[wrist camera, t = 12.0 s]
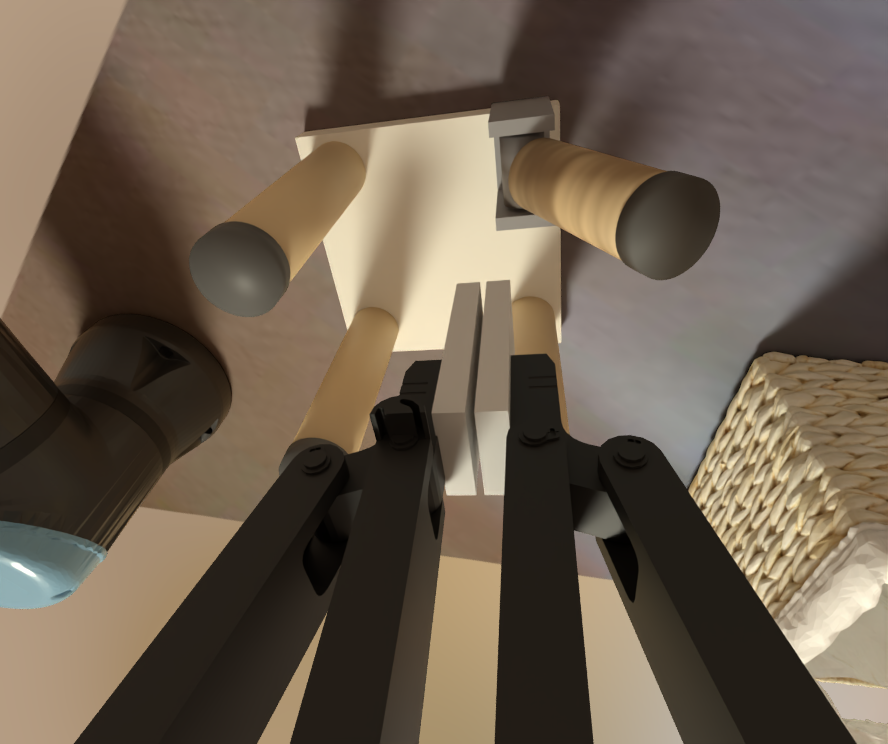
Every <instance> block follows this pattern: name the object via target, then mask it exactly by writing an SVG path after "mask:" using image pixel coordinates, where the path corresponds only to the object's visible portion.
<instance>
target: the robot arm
mask: <svg viewBox="0 0 888 744" xmlns="http://www.w3.org/2000/svg"><path fill="white" fill-rule="evenodd" d="M402 384H403V385H402V387H401V390H400V395H399V396H396V397H391V398H388V399H386V400H383V401H381V402H380V403H379V404H377V405H376V406H375V407H374V408H373V409H372V411H371V412H370V414H369V415H370V419H371V422H372V426H373V430H374V433H375V437H376V440H377V441H376V444H375V445H374V446H372V447H370V448H367V449H365V450H362V451H358V452H354V453H351V454H347V455H344V454H343V452H342V451H341V450H340V448H339V447H337V446H334V445H331V444H319V445H315V446H312V447H309V448H307V449H305V450H303V451H301V452H300V453H299V454H298V455H297V456H296V457H295V458H294V459H293V460H292V461H291V462H290V463H289V465H288V466H287V467H286V469H285V470H284V471H283V473H282V474H281V475H280V476H279V478H278V479H277V480H276V482H275V483H274V484H273V486H272V487H271V488H270V489H269V491H268V492H267V493H266V495H265V496H264V497H263V499H262V500H261V501H260V502H259V504H258V505H257V506H256V508H255V509H254V510H253V512H252V513H251V514H250V515H249V517H248V518H247V519H246V521H245V522H244V523H243V525H242V526H241V527H240V528H239V530H238V531H237V532H236V534H235V535H234V536H233V538H232V539H231V540H230V542H229V543H228V544H227V545H226V547H225V548H224V549H223V551H222V552H221V553H220V554H219V556H218V557H217V558H216V560H215V561H214V562H213V564H212V565H211V566H210V568H209V569H208V570H207V571H206V573H205V574H204V575H203V576H202V578H201V579H200V580H199V582H198V583H197V584H196V586H195V587H194V588H193V589H192V591H191V592H190V593H189V595H188V596H187V597H186V599H185V600H184V601H183V603H182V604H181V605H180V606H179V608H178V609H177V610H176V612H175V613H174V614H173V615H172V617H171V618H170V619H169V621H168V622H167V623H166V625H165V626H164V627H163V628H162V630H161V631H160V632H159V634H158V635H157V636H156V638H155V639H154V640H153V642H152V643H151V644H150V645H149V647H148V648H147V649H146V651H145V652H144V653H143V654H142V656H141V657H140V659H139V660H138V661H137V662H136V664H135V665H134V666H133V668H132V669H131V670H130V671H129V673H128V674H127V675H126V677H125V678H124V679H123V680H122V682H121V683H120V684H119V686H118V687H117V688H116V690H115V691H114V692H113V694H112V695H111V696H110V697H109V699H108V700H107V701H106V703H105V704H104V705H103V706H102V708H101V709H100V710H99V712H98V713H97V714H96V716H95V717H94V718H93V719H92V721H91V722H90V723H89V725H88V726H87V727H86V729H85V730H84V731H83V733H82V734H81V735H80V737H79V738H78V739H77V740H76V742H75V743H74V744H257V742H258V740H259V739H260V737H261V735H262V733H263V731H264V729H265V728H266V726H267V724H268V722H269V720H270V718H271V716H272V714H273V713H274V711H275V709H276V707H277V705H278V703H279V701H280V699H281V697H282V696H283V694H284V692H285V690H286V688H287V686H288V684H289V683H290V681H291V679H292V677H293V675H294V673H295V671H296V669H297V668H298V666H299V664H300V662H301V660H302V658H303V656H304V655H305V653H306V651H307V649H308V647H309V645H310V643H311V641H312V640H313V638H314V636H315V634H316V632H317V630H318V628H319V626H320V625H321V623H322V621H323V619H324V617H325V615H326V613H327V616H326V619H325V623H324V626H323V630H322V633H321V637H320V640H319V644H318V647H317V651H316V655H315V658H314V661H313V665H312V669H311V672H310V675H309V679H308V682H307V686H306V689H305V693H304V697H303V700H302V703H301V707H300V710H299V714H298V717H297V721H296V724H295V728H294V731H293V735H292V738H291V742H290V744H419V734H420V726H421V717H422V709H423V700H424V691H425V683H426V674H427V665H428V656H429V647H430V639H431V630H432V622H433V613H434V604H435V596H436V587H437V578H438V568H439V561H440V552H441V543H442V535H443V526H444V517H445V508H444V502H443V491H444V484H445V488H446V493H447V495H476V494H477V480H478V467H479V454H480V461H481V469H482V477H483V485H484V493H485V495H504V513H503V539H502V565H501V591H500V592H501V593H500V619H499V645H498V670H497V696H496V722H495V744H593V733H592V723H591V712H590V701H589V690H588V679H587V668H586V658H585V647H584V636H583V627H582V626H583V625H582V614H581V604H580V593H579V583H578V571H577V561H576V550H575V539H574V530H575V531H579V532H582V533H586V534H589V535H593V536H595V537H596V541H597V544H598V546H599V548H600V551H601V553H602V555H603V558H604V560H605V562H606V565H607V567H608V569H609V572H610V574H611V576H612V579H613V581H614V583H615V585H616V588H617V590H618V592H619V595H620V597H621V599H622V602H623V604H624V606H625V609H626V611H627V613H628V616H629V618H630V620H631V622H632V625H633V627H634V629H635V632H636V634H637V637H638V639H639V641H640V643H641V646H642V648H643V651H644V653H645V655H646V657H647V660H648V662H649V664H650V667H651V669H652V671H653V674H654V676H655V678H656V681H657V683H658V685H659V688H660V690H661V692H662V694H663V697H664V699H665V701H666V704H667V706H668V709H669V711H670V713H671V715H672V718H673V720H674V722H675V725H676V727H677V729H678V732H679V734H680V736H681V739H682V741H683V743H684V744H857V743H856V742H855V740H854V739H853V737H852V736H851V734H850V733H849V731H848V730H847V728H846V727H845V725H844V724H843V722H842V721H841V719H840V718H839V716H838V715H837V713H836V712H835V710H834V709H833V707H832V706H831V704H830V703H829V701H828V700H827V698H826V697H825V695H824V694H823V692H822V691H821V689H820V688H819V686H818V685H817V683H816V682H815V680H814V679H813V677H812V676H811V674H810V673H809V671H808V670H807V668H806V667H805V665H804V664H803V662H802V661H801V659H800V658H799V656H798V655H797V653H796V652H795V650H794V649H793V647H792V646H791V644H790V643H789V641H788V640H787V638H786V637H785V635H784V634H783V632H782V631H781V629H780V628H779V626H778V625H777V623H776V622H775V620H774V619H773V617H772V616H771V614H770V613H769V611H768V610H767V608H766V607H765V605H764V604H763V602H762V601H761V599H760V598H759V596H758V595H757V593H756V592H755V590H754V589H753V587H752V586H751V584H750V583H749V581H748V580H747V578H746V577H745V575H744V574H743V572H742V571H741V569H740V568H739V566H738V565H737V563H736V562H735V560H734V559H733V557H732V556H731V554H730V553H729V551H728V550H727V548H726V547H725V546H724V544H723V543H722V541H721V540H720V538H719V537H718V535H717V534H716V532H715V531H714V529H713V528H712V526H711V525H710V523H709V522H708V520H707V519H706V517H705V516H704V514H703V513H702V511H701V510H700V508H699V507H698V505H697V504H696V502H695V501H694V499H693V498H692V496H691V495H690V493H689V492H688V490H687V489H686V487H685V486H684V484H683V483H682V481H681V480H680V478H679V477H678V475H677V474H676V472H675V471H674V469H673V468H672V466H671V465H670V463H669V462H668V460H667V459H666V457H665V456H664V454H663V453H662V451H661V450H660V449H659V448H658V447H657V446H656V445H655V444H654V443H652V442H650V441H648V440H646V439H644V438H641V437H636V436H631V435H628V436H617V437H614V438H611V439H608V440H607V441H606V442H605V443H604V444H602V445H601V447H599V446H594V445H589V444H586V443H583V442H580V441H578V440H576V439H574V438H572V437H571V436H570V435H569V434H568V433H567V432H566V431H565V429H564V428H563V425H562V422H561V413H560V403H559V394H558V386H557V377H556V367H555V363H554V362H553V361H552V359H551V358H550V357H549V356H548V355H547V354H546V353H545V354H525V355H515V346H514V331H513V316H512V301H511V285H510V280H499V281H487V282H486V293H485V303H484V314H483V307H482V297H481V287H480V282H471V283H458V284H457V285H456V290H455V296H454V301H453V306H452V311H451V316H450V321H449V326H448V331H447V336H446V342H445V347H444V352H443V357H442V360H428V361H415V362H414V363H413V364H412V365H411V367H410V368H409V369H408V370H407V371H406V372H405V376H404V379H403V383H402ZM230 405H231V390H230V386H229V382H228V380H227V377H226V375H225V373H224V371H223V369H222V368H221V366H220V365H219V363H218V362H217V360H216V359H215V358H214V357H213V355H212V354H211V353H210V352H209V351H208V350H207V349H206V348H205V347H204V346H203V345H202V344H201V343H199V342H198V341H197V340H196V339H194V338H193V337H192V336H190V335H189V334H187V333H186V332H184V331H182V330H181V329H179V328H177V327H175V326H173V325H171V324H169V323H166V322H164V321H161V320H158V319H155V318H151V317H147V316H142V315H134V314H121V315H114V316H110V317H107V318H104V319H102V320H100V321H98V322H97V323H95V324H94V325H93V326H92V327H90V328H89V329H88V330H87V331H85V332H84V333H83V334H82V335H81V336H80V337H79V338H78V339H77V340H76V341H75V342H74V344H73V346H72V347H71V350H70V352H69V355H68V357H67V359H66V361H65V363H64V364H63V366H62V368H61V370H60V372H59V374H58V375H57V377H56V379H55V381H54V382H53V381H52V379H51V378H50V377H49V376H48V375H47V374H46V372H45V371H44V370H43V369H42V368H41V367H40V365H39V364H38V363H37V362H36V361H35V359H34V358H33V357H32V356H31V355H30V354H29V352H28V351H27V350H26V349H25V348H24V346H23V345H22V344H21V343H20V342H19V340H18V339H17V338H16V337H15V335H14V334H13V333H12V332H11V331H10V329H9V328H8V327H7V326H6V325H5V323H4V322H3V321H2V320H1V318H0V607H4V608H15V609H33V608H41V607H47V606H50V605H53V604H56V603H59V602H61V601H62V600H65V599H66V598H67V597H69V596H70V595H72V594H73V593H74V592H75V591H76V590H77V589H78V588H79V586H80V585H81V584H82V583H83V582H84V580H85V579H86V578H87V577H88V576H89V575H90V573H91V572H92V571H93V570H94V568H96V566H97V565H98V564H99V563H100V562H102V561H103V560H104V559H105V558H106V555H107V551H108V550H109V548H110V547H111V546H112V544H113V543H114V542H115V540H116V539H117V537H118V536H119V535H120V533H121V532H122V530H123V529H124V527H125V526H126V525H127V523H128V522H129V520H130V519H131V518H132V516H133V515H134V514H135V512H136V511H137V509H138V508H139V507H140V505H141V504H142V503H143V501H144V500H145V498H146V497H147V496H148V494H149V493H150V491H151V490H152V489H153V487H154V486H155V484H156V483H157V482H158V480H159V479H160V477H161V476H162V474H163V473H164V472H165V470H166V469H167V468H168V466H169V465H170V464H172V463H173V462H175V461H176V460H178V459H179V458H181V457H182V456H184V455H185V454H186V453H188V452H189V451H191V450H192V449H194V448H195V447H197V446H198V445H200V444H201V443H203V442H204V441H206V440H207V439H208V438H210V437H211V436H212V435H213V434H214V433H215V432H216V431H217V429H218V428H219V426H220V425H221V423H222V422H223V420H224V419H225V417H226V416H227V414H228V412H229V409H230ZM327 611H328V612H327Z"/></svg>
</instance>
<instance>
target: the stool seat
mask: <svg viewBox="0 0 888 744" xmlns="http://www.w3.org/2000/svg"><path fill="white" fill-rule="evenodd" d="M536 132H544V138H551V139H555V140H558V141H560V104H559V101H558V100H552V101H550V99H549V96H544V97H536V98H528V99H521V100H513V101H505V102H497V103H492V105H491V108H488V109H481V110H473V111H465V112H457V113H449V114H441V115H433V116H425V117H417V118H409V119H401V120H393V121H386V122H378V123H370V124H362V125H354V126H346V127H338V128H330V129H322V130H314V131H306V132H303V133H302V134H300V135H299V136H297V137H296V138H295V140H296V144H297V147H298V151H299V154H300V158H301V161H300V162H299V163H298V164H297V165H295V166H294V167H293V168H292V169H290V170H289V171H288V172H287V173H285V174H284V175H283V176H282V177H280V178H279V179H278V180H277V181H275V182H274V183H273V184H272V185H270V186H269V187H268V188H267V189H265V190H264V191H263V192H262V193H260V194H259V195H258V196H257V197H255V198H254V199H253V200H252V201H250V202H249V203H248V204H247V205H245V206H244V207H243V208H242V209H240V210H239V211H238V212H237V213H235V214H234V215H233V216H232V217H230V218H229V219H228V220H227V221H225V222H224V223H222V224H219V225H217V226H215V227H214V228H213V229H211V230H210V231H209V232H208V233H206V234H205V235H204V236H202V237H201V238H200V239H199V240H198V241H197V242H196V243H195V244H194V246H193V248H192V250H191V253H190V257H189V266H190V272H191V275H192V278H193V280H194V282H195V284H196V286H197V288H198V289H199V291H200V292H201V293H202V294H203V296H204V297H205V298H206V299H207V300H209V301H210V302H211V303H212V304H213V305H215V306H216V307H218V308H219V309H221V310H223V311H225V312H227V313H230V314H233V315H236V316H242V317H255V316H259V315H262V314H265V313H267V312H268V311H270V310H271V309H272V308H273V307H274V306H275V305H276V303H277V302H278V301H279V300H280V298H281V297H282V296H283V294H284V293H285V292H286V290H287V288H288V286H289V283H290V282H291V280H292V279H293V278H294V276H295V275H296V274H297V272H298V271H299V270H300V269H301V267H302V266H303V265H304V263H305V262H306V261H307V259H308V258H309V257H310V256H311V254H312V253H313V252H314V250H315V249H316V248H317V246H318V245H319V244H320V243H321V241H322V240H323V242H324V246H325V249H326V253H327V257H328V260H329V264H330V268H331V271H332V275H333V278H334V282H335V286H336V289H337V293H338V297H339V300H340V304H341V308H342V311H343V315H344V319H345V322H346V326H347V330H348V331H347V333H346V335H345V337H344V339H343V341H342V343H341V345H340V347H339V349H338V351H337V353H336V355H335V357H334V359H333V361H332V363H331V365H330V367H329V369H328V372H327V374H326V376H325V378H324V380H323V382H322V384H321V386H320V388H319V390H318V392H317V394H316V396H315V398H314V400H313V402H312V404H311V406H310V408H309V410H308V412H307V414H306V416H305V418H304V421H303V423H302V425H301V427H300V429H299V431H298V433H297V435H296V437H295V439H294V441H293V443H292V444H291V445H290V446H289V448H288V449H287V451H286V453H285V455H284V457H283V459H282V461H281V464H280V466H279V475H281V474H282V473H283V471H284V470H285V469H286V467H287V466H288V465H289V463H290V462H291V461H292V460H293V459H294V458H295V457H296V456H297V455H298V454H299V453H300V452H301V451H303V450H305V449H307V448H309V447H312V446H315V445H319V444H331V445H334V446H337V447H339V448H340V450H341V451H342V452H343V454H344V455H347V454H351V453H354V452H358V451H359V449H360V446H361V443H362V440H363V437H364V434H365V431H366V428H367V425H368V422H369V419H370V415H369V414H370V412H371V411H372V409H373V407H374V404H375V401H376V398H377V395H378V392H379V390H380V387H381V384H382V381H383V378H384V375H385V372H386V369H387V366H388V363H389V360H390V357H391V354H392V352H395V351H414V350H433V349H444V347H445V342H446V336H447V331H448V326H449V321H450V316H451V311H452V306H453V301H454V296H455V290H456V285H457V284H458V283H471V282H480V287H481V297H482V307H483V314H484V303H485V293H486V282H487V281H499V280H510V285H511V301H512V316H513V331H514V346H515V355H525V354H545V353H546V354H547V355H548V356H549V357H550V358H551V359H552V361H553V362H554V363H555V367H556V377H557V386H558V394H559V403H560V413H561V422H562V425H563V428H564V429H565V431H566V432H567V433H568V434H569V426H568V418H567V410H566V402H565V394H564V386H563V378H562V370H561V362H560V354H559V346H558V343H561V228H559V227H558V226H556V225H554V224H552V223H550V222H548V221H546V220H544V219H542V218H541V217H539V216H537V215H535V214H533V213H531V212H529V211H527V210H525V209H513V208H508V207H506V206H505V205H504V200H503V185H502V170H501V155H500V140H499V137H502V136H510V135H519V134H527V133H536ZM569 435H570V434H569Z"/></svg>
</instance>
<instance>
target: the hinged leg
mask: <svg viewBox="0 0 888 744" xmlns="http://www.w3.org/2000/svg"><path fill="white" fill-rule="evenodd" d="M499 140H500V155H501V170H502V185H503V200H504V205H505V206H506V207H508V208H513V209H525V210H527V211H529V212H531V213H533V214H535V215H537V216H539V217H541V218H542V219H544V220H546V221H548V222H550V223H552V224H554V225H556V226H558V227H559V228H561V229H563V230H565V231H567V232H569V233H571V234H573V235H575V236H576V237H578V238H580V239H582V240H584V241H586V242H588V243H590V244H592V245H593V246H595V247H597V248H599V249H601V250H603V251H605V252H607V253H609V254H610V255H612V256H614V257H616V258H618V259H620V260H622V261H623V262H624V263H625V265H627V266H628V267H630V268H632V269H634V270H635V271H637V272H639V273H641V274H643V275H645V276H647V277H649V278H651V279H655V280H667V279H671V278H674V277H676V276H678V275H680V274H682V273H684V272H685V271H687V270H688V269H689V268H690V267H692V266H693V265H694V264H695V263H696V262H697V261H698V260H699V259H700V258H701V256H702V255H703V254H704V253H705V251H706V250H707V248H708V247H709V245H710V243H711V241H712V239H713V237H714V235H715V232H716V229H717V226H718V222H719V217H720V201H719V197H718V194H717V191H716V189H715V188H714V186H713V185H712V184H711V183H710V182H708V181H707V180H705V179H702V178H699V177H696V176H692V175H689V174H685V173H681V172H677V171H664V170H661V169H657V168H654V167H650V166H647V165H643V164H640V163H636V162H632V161H629V160H625V159H622V158H618V157H615V156H611V155H608V154H604V153H601V152H597V151H594V150H590V149H587V148H583V147H580V146H576V145H573V144H569V143H565V142H562V141H558V140H555V139H551V138H544V132H536V133H527V134H519V135H510V136H502V137H499Z"/></svg>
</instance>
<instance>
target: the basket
mask: <svg viewBox="0 0 888 744" xmlns="http://www.w3.org/2000/svg"><path fill="white" fill-rule="evenodd" d="M688 492H689V493H690V495H691V496H692V498H693V499H694V501H695V502H696V504H697V505H698V507H699V508H700V510H701V511H702V513H703V514H704V516H705V517H706V519H707V520H708V522H709V523H710V525H711V526H712V528H713V529H714V531H715V532H716V534H717V535H718V537H719V538H720V540H721V541H722V543H723V544H724V546H725V547H726V548H727V550H728V551H729V553H730V554H731V556H732V557H733V559H734V560H735V562H736V563H737V565H738V566H739V568H740V569H741V571H742V572H743V574H744V575H745V577H746V578H747V580H748V581H749V583H750V584H751V586H752V587H753V589H754V590H755V592H756V593H757V595H758V596H759V598H760V599H761V601H762V602H763V604H764V605H765V607H766V608H767V610H768V611H769V613H770V614H771V616H772V617H773V619H774V620H775V622H776V623H777V625H778V626H779V628H780V629H781V631H782V632H783V634H784V635H785V637H786V638H787V640H788V641H789V643H790V644H791V646H792V647H793V649H794V650H795V652H796V653H797V655H798V656H799V658H800V659H801V661H802V662H803V664H804V665H805V667H806V668H807V670H808V671H809V673H810V674H811V676H812V677H813V679H814V680H815V682H816V683H817V685H818V686H819V688H820V689H821V691H822V692H823V694H824V695H825V697H826V698H827V700H828V701H829V703H830V704H831V706H832V707H833V709H834V710H835V712H836V713H837V715H838V716H839V718H840V719H841V721H842V722H843V724H844V725H845V727H846V728H847V730H848V731H849V733H850V734H851V736H852V737H853V739H854V740H855V742H856V743H857V744H888V723H887V724H884V723H875V722H872V721H870V720H867V719H866V720H865V721H862V720H856V719H851V720H849V719H843V718H841V716H840V714H839V712H838V711H837V709H836V707H835V706H834V704H833V702H832V700H831V698H830V697H829V695H828V694H827V693H826V691H825V690H824V689H823V688H822V687H821V686H820V684H819V683H818V682H817V681H820V682H831V683H836V682H837V683H843V684H849V685H862V686H866V687H873V688H876V687H878V688H886V689H888V363H886V362H881V361H864V362H862V363H861V364H860V363H856V362H853V361H849V360H843V359H840V360H831V361H828V360H826V359H821V358H813V357H807V356H806V355H800V356H797V357H796V358H795V357H794V356H793V355H789V354H784V353H779V352H769V353H766V354H764V355H763V357H759V358H757V359H755V360H754V362H753V363H752V365H751V367H750V369H749V371H748V373H747V375H746V377H745V378H744V379H743V381H742V383H741V387H740V389H739V391H738V393H737V394H736V395H735V397H734V398H733V400H732V402H731V403H730V405H729V408H728V410H727V416H726V418H725V419H724V420H723V422H722V423H721V425H720V426H719V428H718V430H717V433H716V436H715V439H714V440H713V441H712V442H711V444H710V446H709V447H708V450H707V453H706V457H705V458H704V460H703V461H702V462H701V465H700V467H699V470H698V473H697V475H696V476H695V478H694V480H693V481H692V483H691V485H690V487H689V490H688Z"/></svg>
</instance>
